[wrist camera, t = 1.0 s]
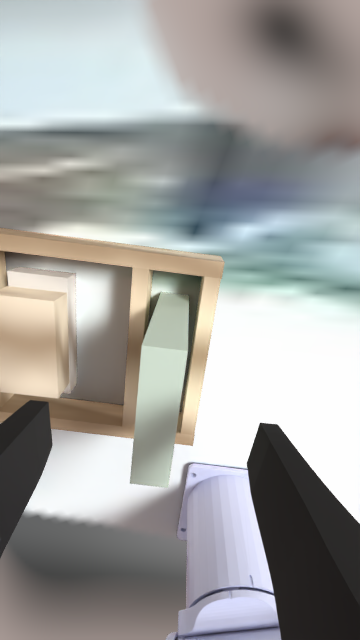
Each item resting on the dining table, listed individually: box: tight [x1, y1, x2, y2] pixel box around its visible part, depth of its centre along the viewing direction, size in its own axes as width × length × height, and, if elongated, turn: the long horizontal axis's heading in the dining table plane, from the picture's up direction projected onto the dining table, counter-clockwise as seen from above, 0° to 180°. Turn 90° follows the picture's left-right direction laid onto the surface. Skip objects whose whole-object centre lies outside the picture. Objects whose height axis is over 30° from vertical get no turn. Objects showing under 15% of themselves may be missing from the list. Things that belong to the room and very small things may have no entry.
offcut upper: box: [0, 286, 70, 398], centre depth 20 cm, size 7×4×2 cm, turn 174°
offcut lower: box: [7, 267, 77, 394], centre depth 22 cm, size 9×4×2 cm, turn 174°
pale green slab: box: [130, 292, 189, 488], centre depth 18 cm, size 8×2×9 cm, turn 173°
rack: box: [0, 228, 224, 446], centre depth 21 cm, size 14×16×2 cm
